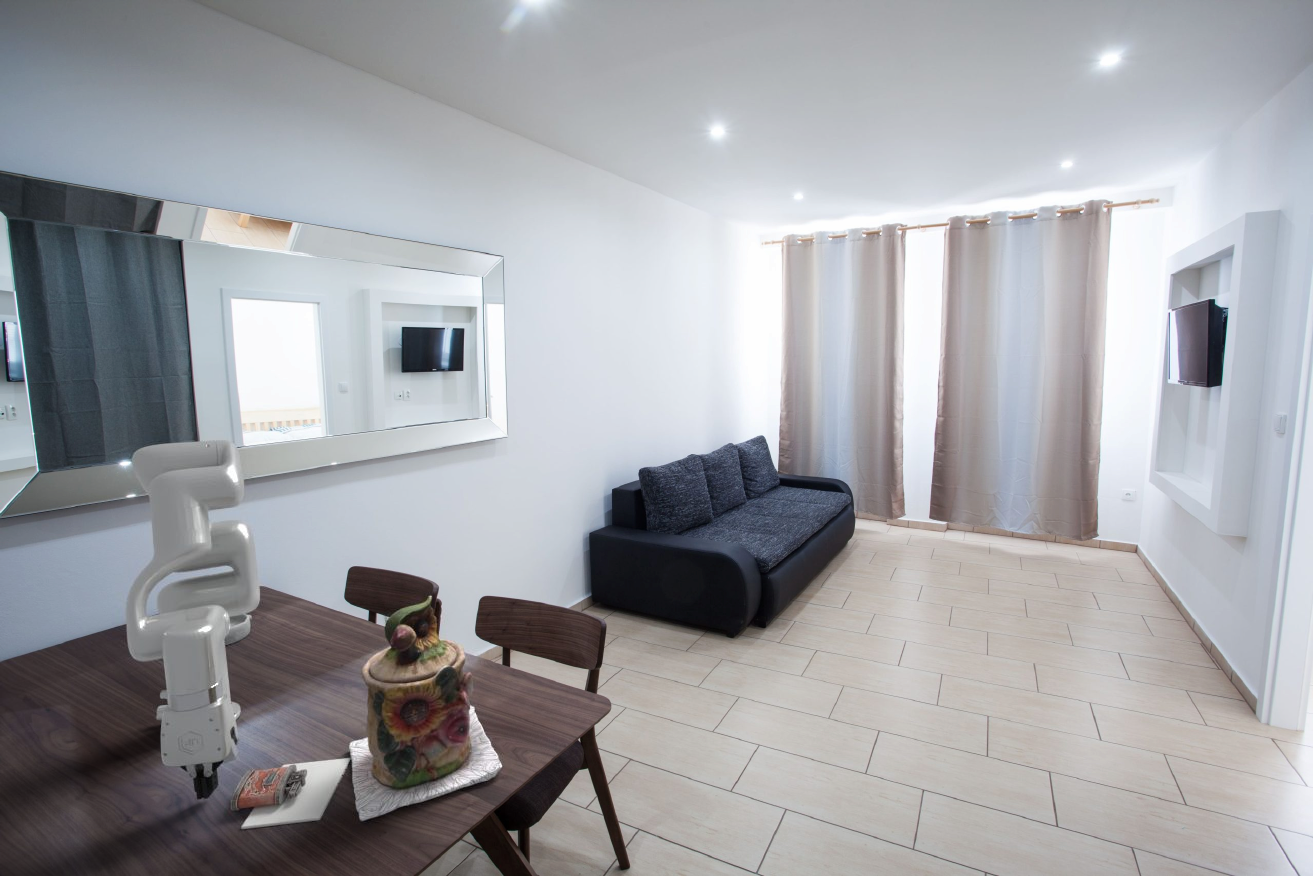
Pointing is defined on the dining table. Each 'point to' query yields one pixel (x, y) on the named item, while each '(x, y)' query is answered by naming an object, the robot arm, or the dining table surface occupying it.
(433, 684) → the cookie jar
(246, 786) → the lighter
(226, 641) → the dish
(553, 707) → the dining table surface
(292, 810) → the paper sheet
